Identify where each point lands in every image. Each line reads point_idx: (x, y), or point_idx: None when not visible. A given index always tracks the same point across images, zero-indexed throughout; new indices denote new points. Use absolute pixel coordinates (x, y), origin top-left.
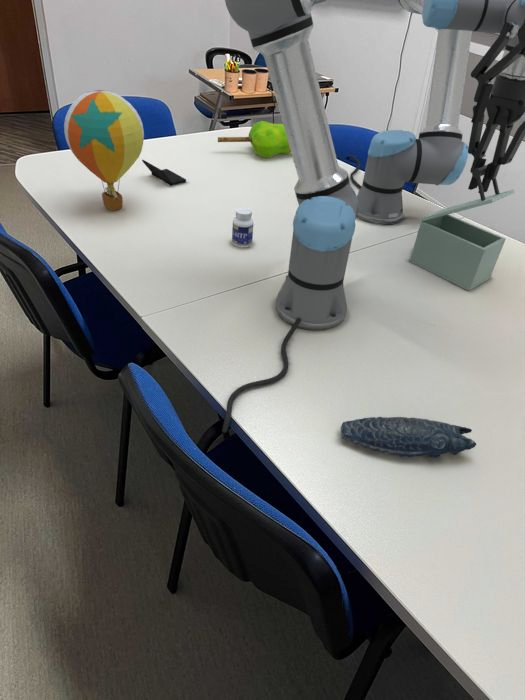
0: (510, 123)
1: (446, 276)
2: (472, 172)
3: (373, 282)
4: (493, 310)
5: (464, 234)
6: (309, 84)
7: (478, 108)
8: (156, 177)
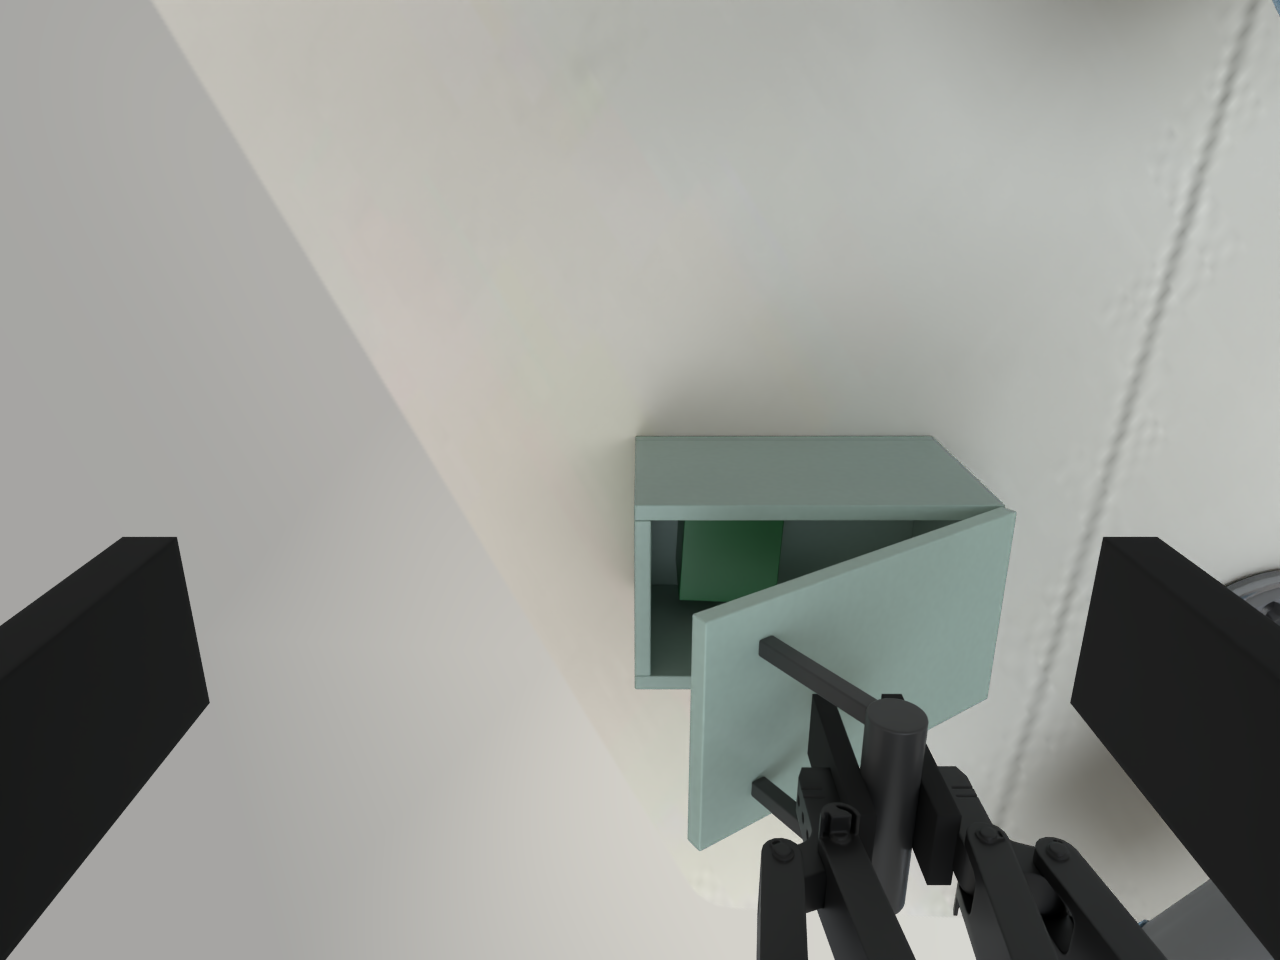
0: None
1: (749, 440)
2: (922, 713)
3: (946, 137)
4: (497, 388)
5: None
6: None
7: (1230, 632)
8: None
